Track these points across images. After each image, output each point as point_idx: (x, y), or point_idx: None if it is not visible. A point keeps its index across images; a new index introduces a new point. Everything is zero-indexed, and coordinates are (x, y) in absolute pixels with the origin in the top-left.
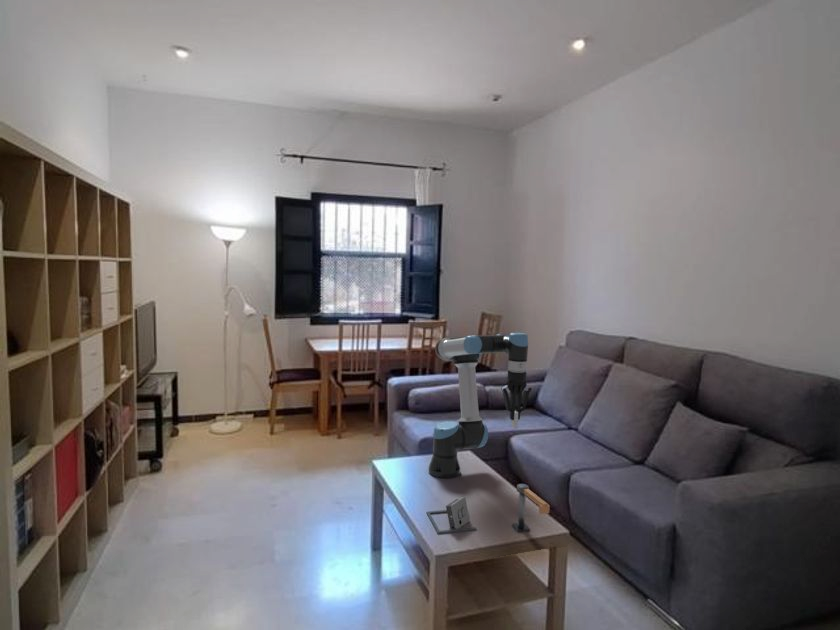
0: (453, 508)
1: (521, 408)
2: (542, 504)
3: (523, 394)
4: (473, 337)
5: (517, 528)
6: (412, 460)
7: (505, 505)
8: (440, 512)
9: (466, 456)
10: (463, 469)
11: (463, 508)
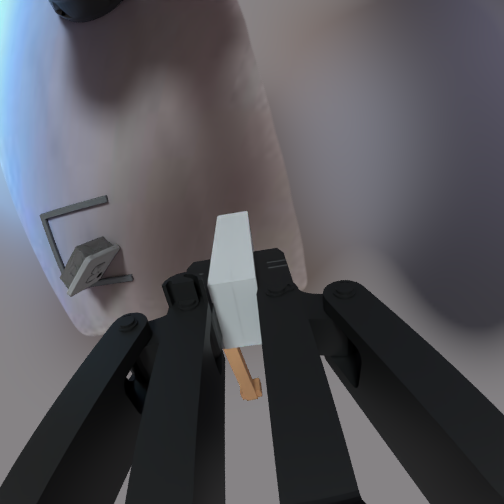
0: (74, 294)
1: (323, 349)
2: (246, 398)
3: (464, 463)
4: None
5: None
6: None
7: (217, 167)
8: (63, 212)
9: None
10: None
11: (95, 271)
